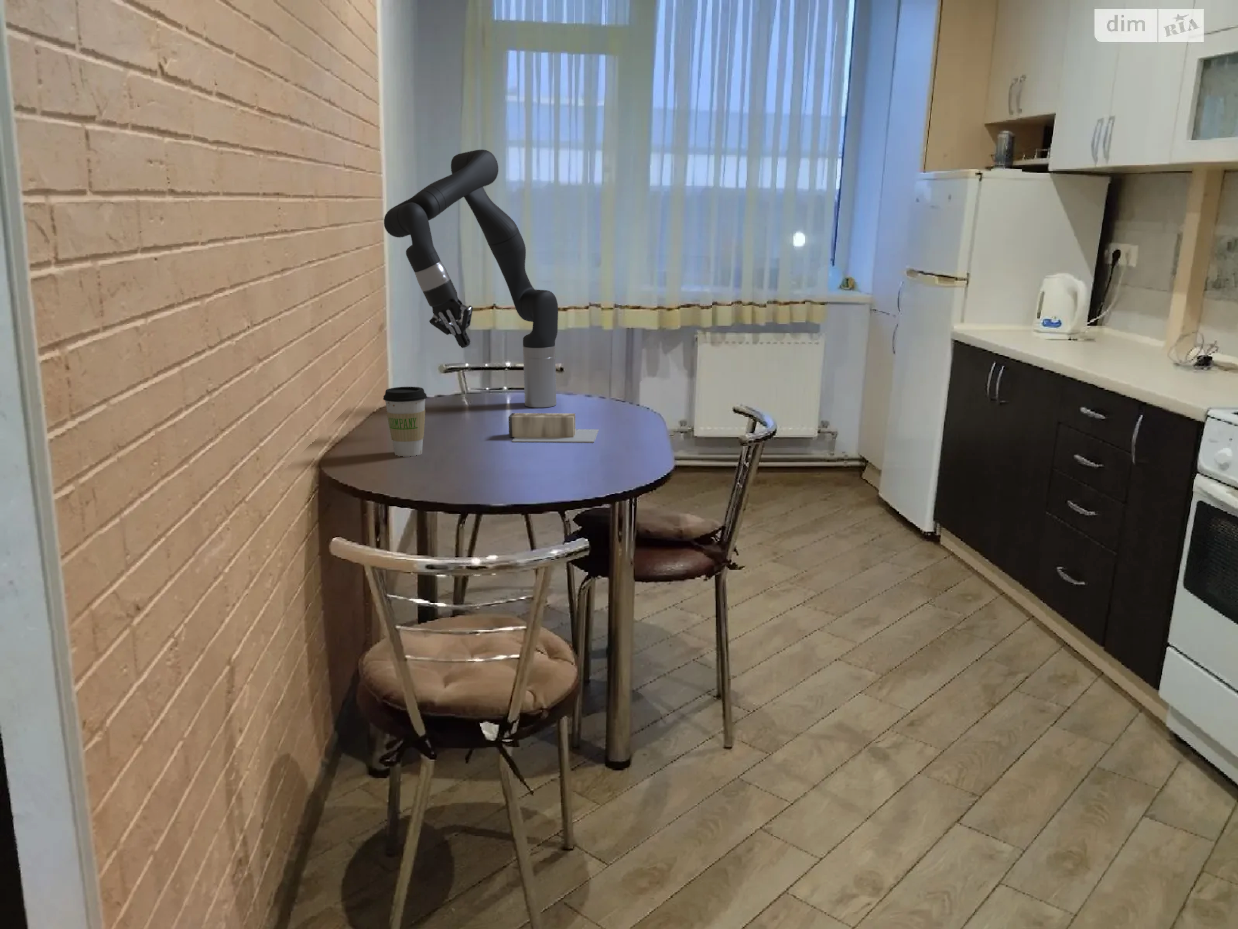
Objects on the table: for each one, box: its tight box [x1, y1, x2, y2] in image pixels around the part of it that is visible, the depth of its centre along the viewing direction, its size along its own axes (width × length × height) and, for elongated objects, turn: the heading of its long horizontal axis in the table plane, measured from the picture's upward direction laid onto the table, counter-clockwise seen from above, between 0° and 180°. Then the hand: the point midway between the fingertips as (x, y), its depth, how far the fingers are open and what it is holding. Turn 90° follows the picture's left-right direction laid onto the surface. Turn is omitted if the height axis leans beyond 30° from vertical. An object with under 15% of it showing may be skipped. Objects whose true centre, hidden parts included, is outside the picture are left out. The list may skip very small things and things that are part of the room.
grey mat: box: [511, 428, 600, 444], centre depth 243 cm, size 14×20×1 cm
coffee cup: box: [382, 386, 428, 458], centre depth 224 cm, size 10×10×15 cm
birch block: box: [508, 412, 577, 438], centre depth 243 cm, size 5×5×16 cm
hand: (466, 346), depth 246 cm, fingers closed
